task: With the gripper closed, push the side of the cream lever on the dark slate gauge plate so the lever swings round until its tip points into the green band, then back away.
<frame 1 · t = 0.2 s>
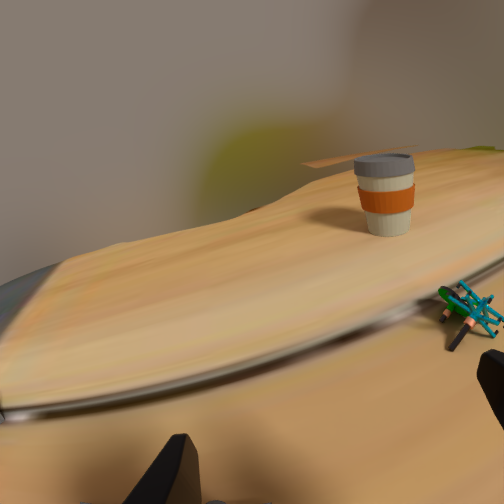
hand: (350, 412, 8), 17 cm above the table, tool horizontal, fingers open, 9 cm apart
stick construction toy: (458, 331, 31), on the table
reusable coffee cup: (389, 229, 64), on the table
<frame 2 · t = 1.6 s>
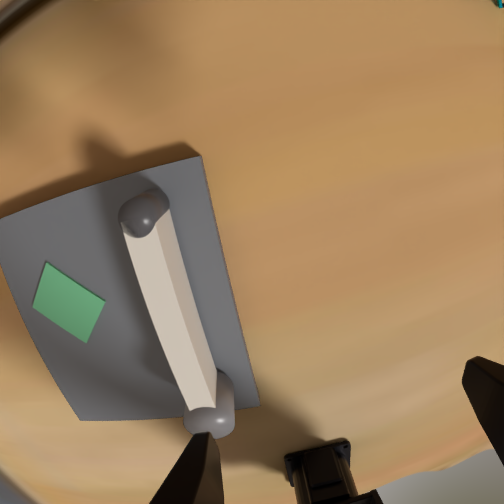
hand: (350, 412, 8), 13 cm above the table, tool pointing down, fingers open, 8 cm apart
tuner lever: (181, 329, 18), point 3 cm above the table, hinge at 0.0°
gauge plate: (121, 316, 21), on the table
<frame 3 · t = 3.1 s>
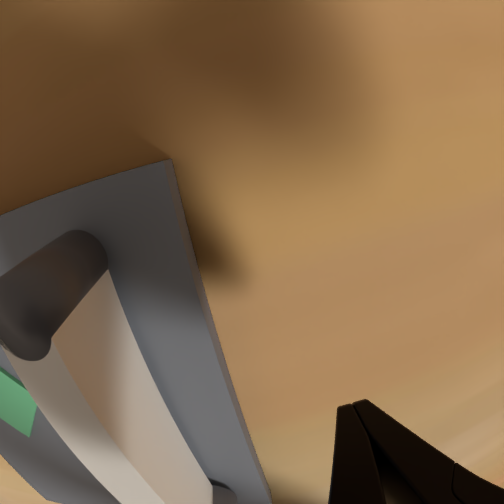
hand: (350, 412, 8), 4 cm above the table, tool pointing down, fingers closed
tuner lever: (151, 463, 9), point 3 cm above the table, hinge at 0.0°
gauge plate: (69, 407, 12), on the table
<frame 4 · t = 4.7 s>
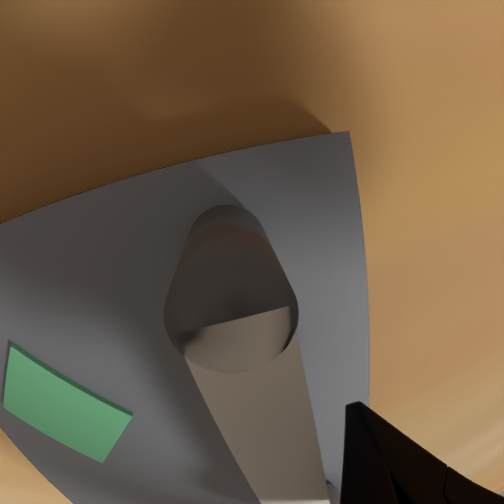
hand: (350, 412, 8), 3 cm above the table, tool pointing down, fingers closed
tuner lever: (291, 470, 8), point 3 cm above the table, hinge at 2.1°, touching gripper
gauge plate: (158, 422, 11), on the table
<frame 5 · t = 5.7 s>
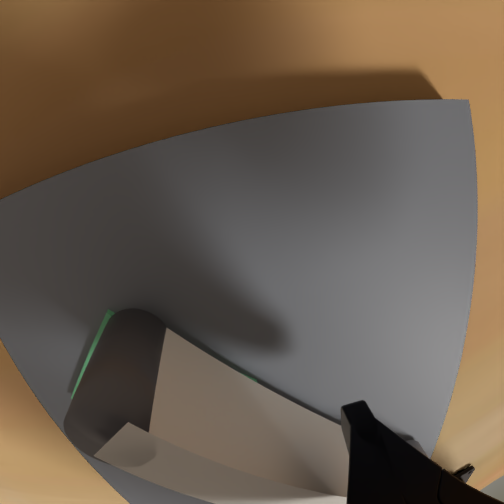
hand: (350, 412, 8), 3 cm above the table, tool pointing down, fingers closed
tuner lever: (324, 468, 8), point 3 cm above the table, hinge at 36.7°, touching gripper
gauge plate: (262, 393, 11), on the table
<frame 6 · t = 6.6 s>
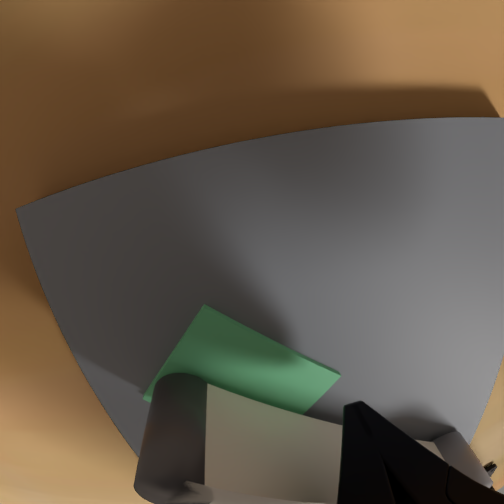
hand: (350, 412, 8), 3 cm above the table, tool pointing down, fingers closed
tuner lever: (367, 476, 9), point 3 cm above the table, hinge at 48.8°, touching gripper
gauge plate: (332, 387, 11), on the table
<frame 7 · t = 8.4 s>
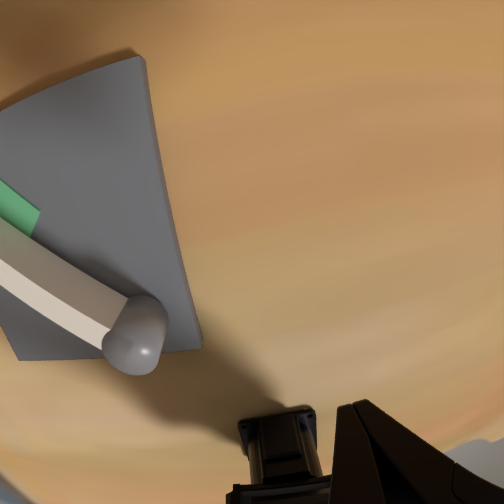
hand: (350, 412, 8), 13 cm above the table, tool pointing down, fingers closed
tuner lever: (47, 281, 16), point 3 cm above the table, hinge at 49.1°
gauge plate: (57, 233, 18), on the table
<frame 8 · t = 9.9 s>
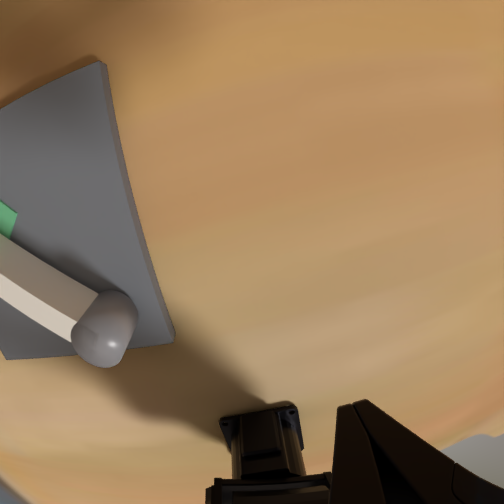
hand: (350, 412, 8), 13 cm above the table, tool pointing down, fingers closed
tuner lever: (23, 278, 16), point 3 cm above the table, hinge at 49.1°
gauge plate: (34, 234, 18), on the table
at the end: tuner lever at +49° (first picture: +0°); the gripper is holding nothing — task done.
